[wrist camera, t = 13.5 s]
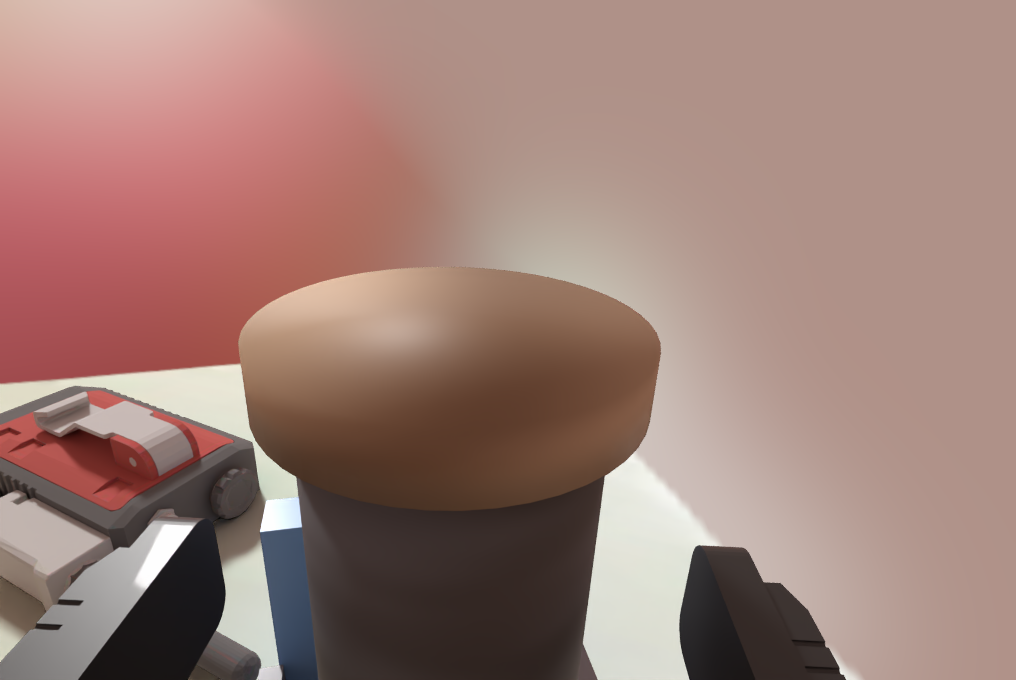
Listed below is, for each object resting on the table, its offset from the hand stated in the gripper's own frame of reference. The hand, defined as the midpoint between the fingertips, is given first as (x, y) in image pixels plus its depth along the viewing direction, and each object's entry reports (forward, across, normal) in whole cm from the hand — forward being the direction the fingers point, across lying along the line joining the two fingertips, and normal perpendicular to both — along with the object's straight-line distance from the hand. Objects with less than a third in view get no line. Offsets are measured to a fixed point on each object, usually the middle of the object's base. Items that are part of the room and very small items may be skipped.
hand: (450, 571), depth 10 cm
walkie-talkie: (+12, +14, +10) cm, 21 cm away
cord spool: (0, 0, +10) cm, 10 cm away
